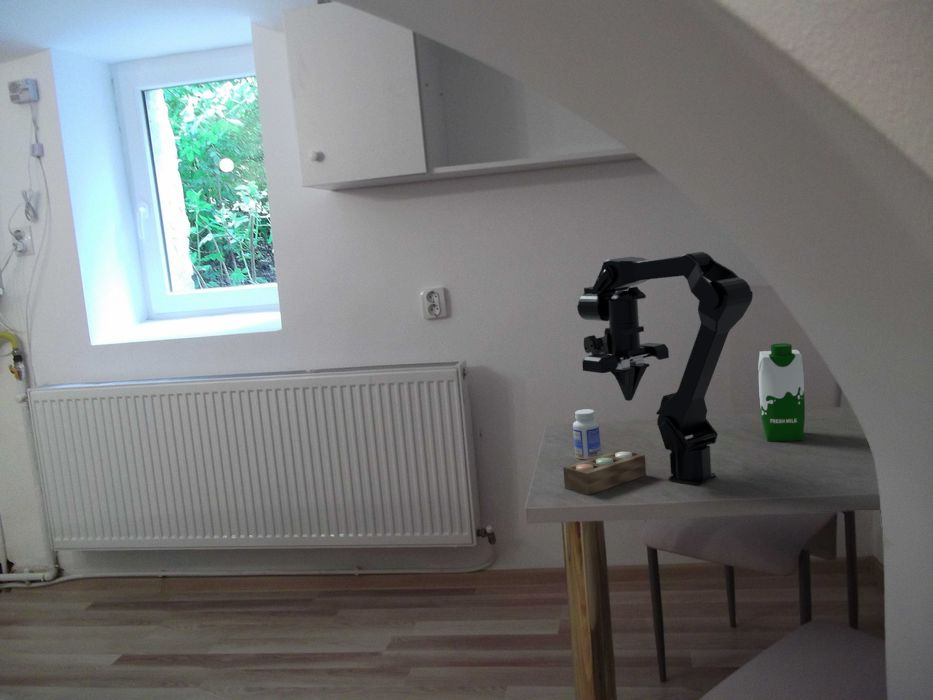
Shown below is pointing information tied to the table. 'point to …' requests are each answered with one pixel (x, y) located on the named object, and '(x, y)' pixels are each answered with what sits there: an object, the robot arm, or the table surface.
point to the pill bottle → (586, 435)
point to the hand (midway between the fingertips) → (628, 400)
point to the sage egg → (604, 461)
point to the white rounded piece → (623, 455)
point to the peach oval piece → (584, 467)
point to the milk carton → (782, 393)
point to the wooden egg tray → (604, 473)
